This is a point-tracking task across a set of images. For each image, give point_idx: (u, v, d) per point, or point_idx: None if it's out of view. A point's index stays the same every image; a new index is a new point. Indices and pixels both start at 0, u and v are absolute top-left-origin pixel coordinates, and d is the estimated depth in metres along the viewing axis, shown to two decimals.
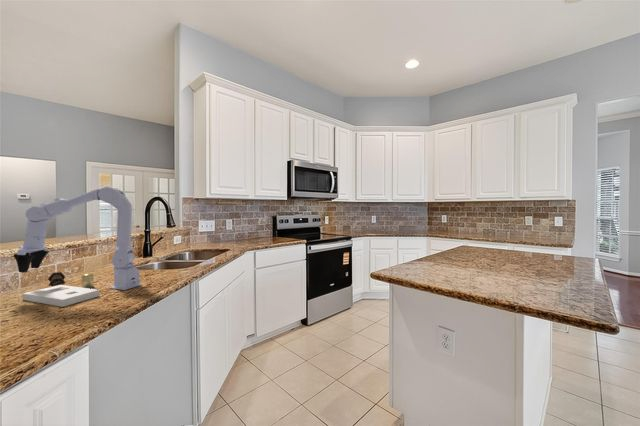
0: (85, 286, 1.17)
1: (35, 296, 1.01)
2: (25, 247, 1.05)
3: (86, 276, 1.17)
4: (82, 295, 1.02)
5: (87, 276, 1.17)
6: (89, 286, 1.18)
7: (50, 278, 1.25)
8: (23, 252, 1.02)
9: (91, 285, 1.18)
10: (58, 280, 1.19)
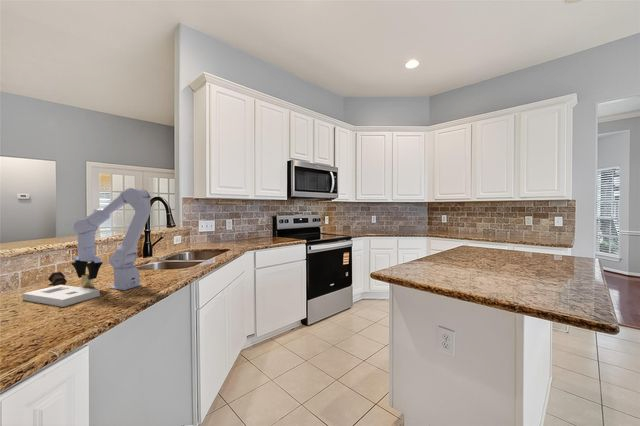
0: (85, 286, 1.17)
1: (35, 296, 1.01)
2: (88, 257, 1.16)
3: (86, 276, 1.17)
4: (82, 295, 1.02)
5: (87, 276, 1.17)
6: (89, 286, 1.18)
7: (50, 278, 1.25)
8: (100, 259, 1.17)
9: (91, 285, 1.18)
10: (61, 279, 1.20)
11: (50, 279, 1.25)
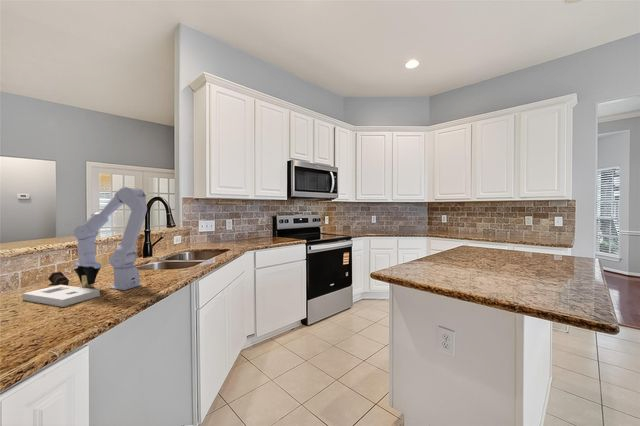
0: (85, 286, 1.17)
1: (35, 296, 1.01)
2: (88, 263, 1.16)
3: None
4: (82, 295, 1.02)
5: None
6: (89, 286, 1.18)
7: (50, 278, 1.25)
8: (100, 265, 1.17)
9: (91, 285, 1.18)
10: (64, 279, 1.21)
11: (50, 279, 1.25)
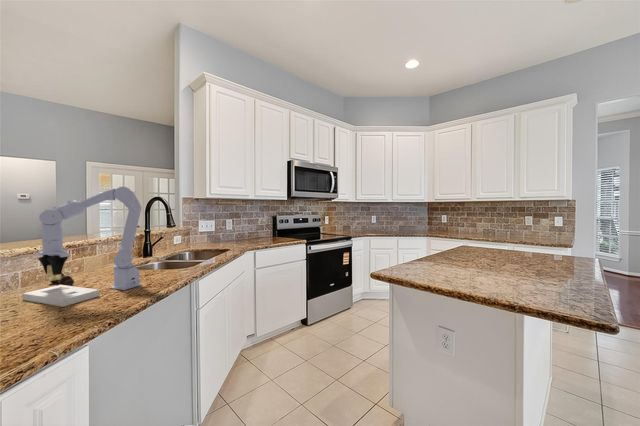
0: (51, 277, 1.06)
1: (35, 296, 1.01)
2: (53, 251, 1.05)
3: None
4: (82, 295, 1.02)
5: None
6: (55, 277, 1.06)
7: None
8: (66, 254, 1.05)
9: (58, 276, 1.07)
10: (69, 278, 1.22)
11: None
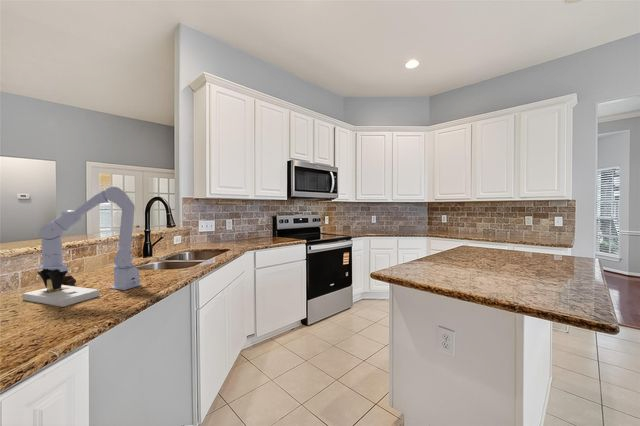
0: (51, 291, 1.05)
1: (35, 296, 1.01)
2: (53, 265, 1.05)
3: None
4: (82, 295, 1.02)
5: None
6: (55, 291, 1.06)
7: None
8: (66, 268, 1.05)
9: (58, 290, 1.07)
10: (71, 278, 1.23)
11: None
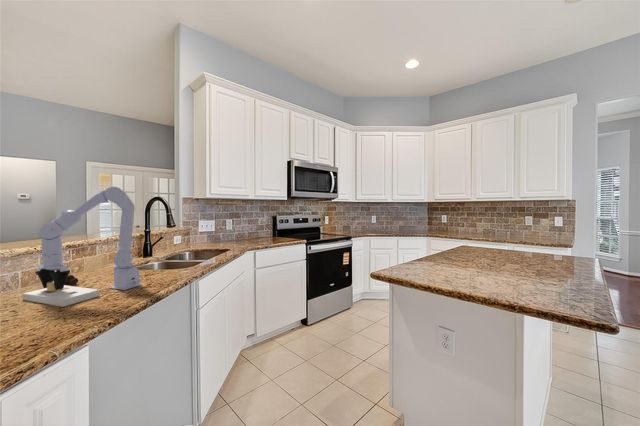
0: None
1: (35, 296, 1.01)
2: (53, 265, 1.05)
3: (52, 284, 1.06)
4: (82, 295, 1.02)
5: (53, 283, 1.06)
6: None
7: None
8: (66, 268, 1.05)
9: None
10: (73, 277, 1.24)
11: None
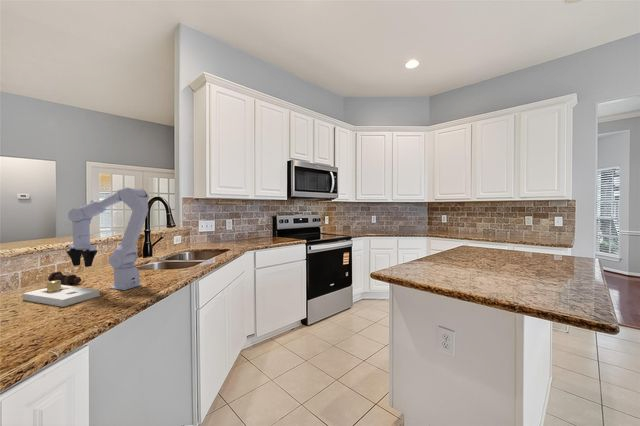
0: None
1: (35, 296, 1.01)
2: (83, 245, 1.18)
3: (52, 284, 1.06)
4: (82, 295, 1.02)
5: (53, 284, 1.06)
6: None
7: (51, 278, 1.26)
8: (95, 247, 1.18)
9: None
10: (75, 276, 1.25)
11: (51, 279, 1.26)
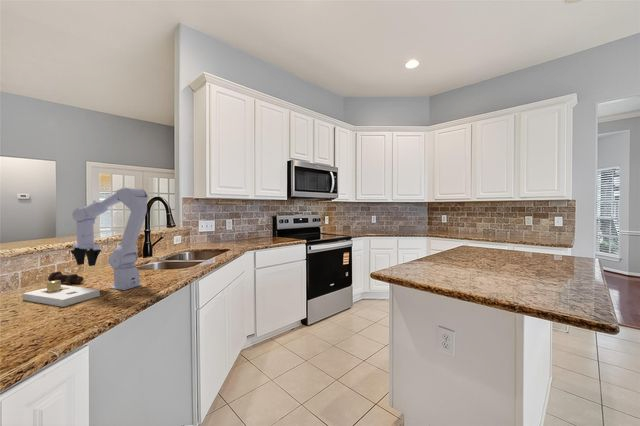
0: None
1: (35, 296, 1.01)
2: (86, 245, 1.19)
3: (52, 284, 1.06)
4: (82, 295, 1.02)
5: (53, 284, 1.06)
6: None
7: (51, 278, 1.26)
8: (98, 247, 1.20)
9: None
10: (78, 276, 1.26)
11: (51, 279, 1.26)
